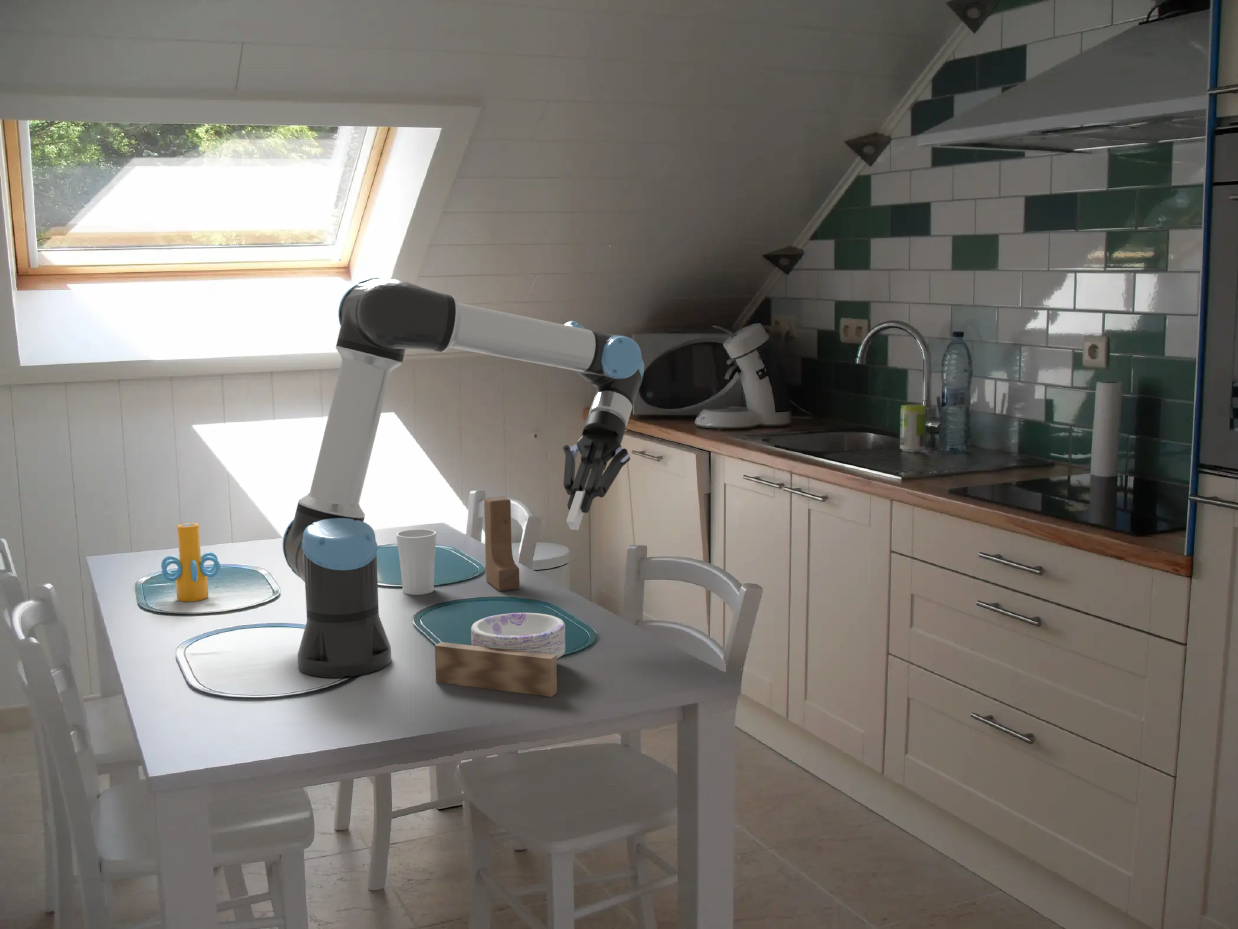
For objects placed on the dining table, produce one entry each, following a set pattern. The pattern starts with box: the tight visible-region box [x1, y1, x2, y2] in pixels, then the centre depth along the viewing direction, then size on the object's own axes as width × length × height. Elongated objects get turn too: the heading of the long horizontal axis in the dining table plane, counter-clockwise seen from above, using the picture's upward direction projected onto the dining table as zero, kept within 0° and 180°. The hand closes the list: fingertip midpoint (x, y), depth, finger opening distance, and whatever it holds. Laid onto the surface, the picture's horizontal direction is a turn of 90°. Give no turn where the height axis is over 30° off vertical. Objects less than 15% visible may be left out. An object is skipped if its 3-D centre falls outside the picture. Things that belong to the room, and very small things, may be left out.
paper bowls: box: [470, 612, 566, 660], centre depth 194 cm, size 15×15×8 cm
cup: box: [396, 528, 437, 596], centre depth 243 cm, size 8×8×12 cm
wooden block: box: [483, 495, 520, 592], centre depth 246 cm, size 9×4×18 cm, turn 24°
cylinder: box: [160, 522, 221, 603], centre depth 239 cm, size 12×10×15 cm
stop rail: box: [434, 641, 558, 698], centre depth 186 cm, size 20×2×6 cm, turn 69°
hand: (572, 525), depth 211 cm, fingers closed
